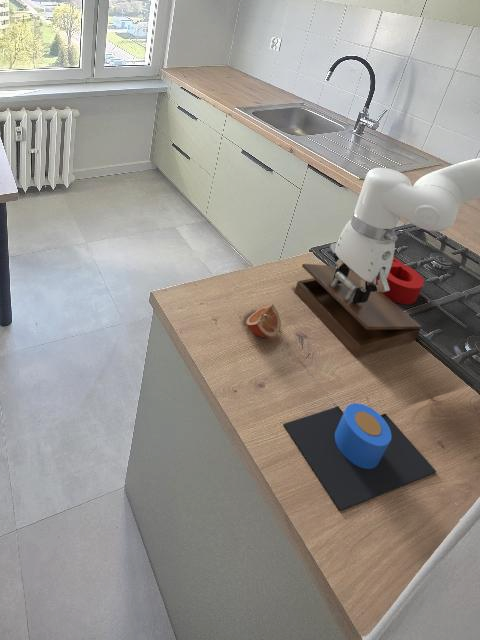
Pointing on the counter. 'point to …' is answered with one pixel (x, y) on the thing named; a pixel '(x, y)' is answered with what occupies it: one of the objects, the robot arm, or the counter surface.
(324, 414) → the mat
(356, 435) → the tape roll
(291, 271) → the counter surface
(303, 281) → the chest
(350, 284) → the lid
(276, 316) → the fruit slice
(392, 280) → the red curved piece
